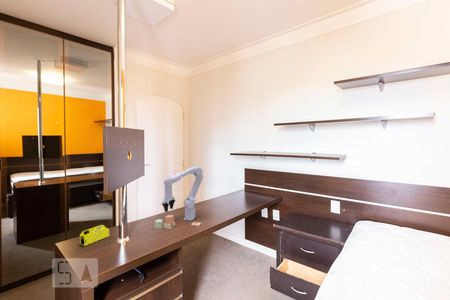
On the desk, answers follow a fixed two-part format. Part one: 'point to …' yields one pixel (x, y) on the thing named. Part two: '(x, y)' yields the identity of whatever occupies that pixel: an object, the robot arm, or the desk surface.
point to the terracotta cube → (169, 219)
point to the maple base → (169, 225)
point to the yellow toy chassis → (93, 235)
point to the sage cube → (159, 223)
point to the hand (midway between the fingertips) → (168, 210)
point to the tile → (196, 223)
